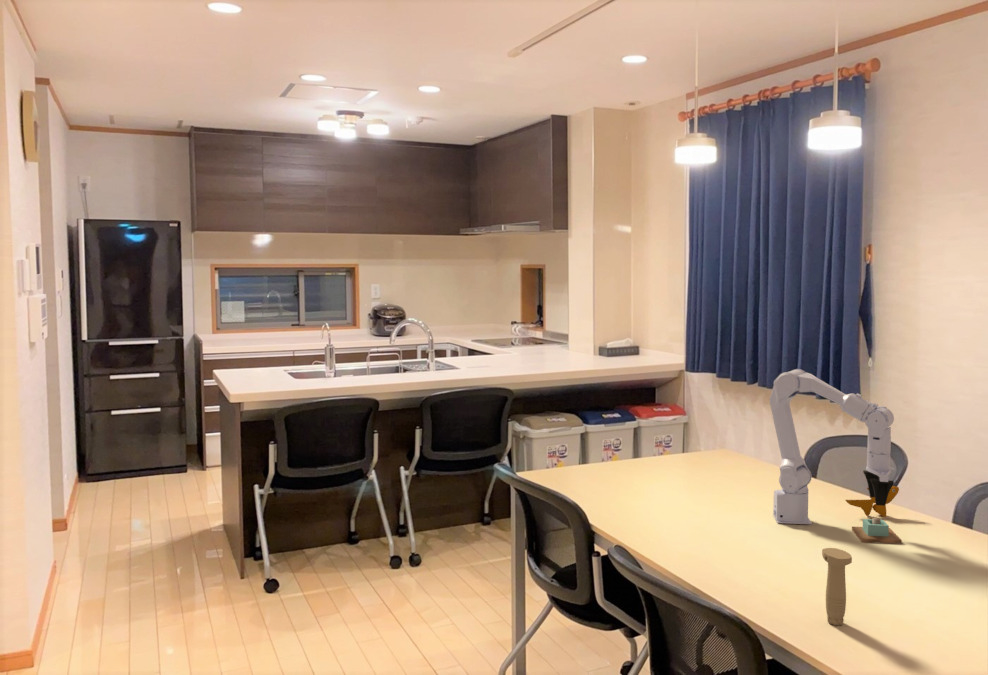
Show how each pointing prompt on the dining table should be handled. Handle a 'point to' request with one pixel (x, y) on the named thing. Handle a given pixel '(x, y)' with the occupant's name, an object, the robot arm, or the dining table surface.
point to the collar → (875, 528)
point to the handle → (836, 584)
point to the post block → (884, 539)
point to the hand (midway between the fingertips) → (877, 500)
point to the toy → (868, 504)
